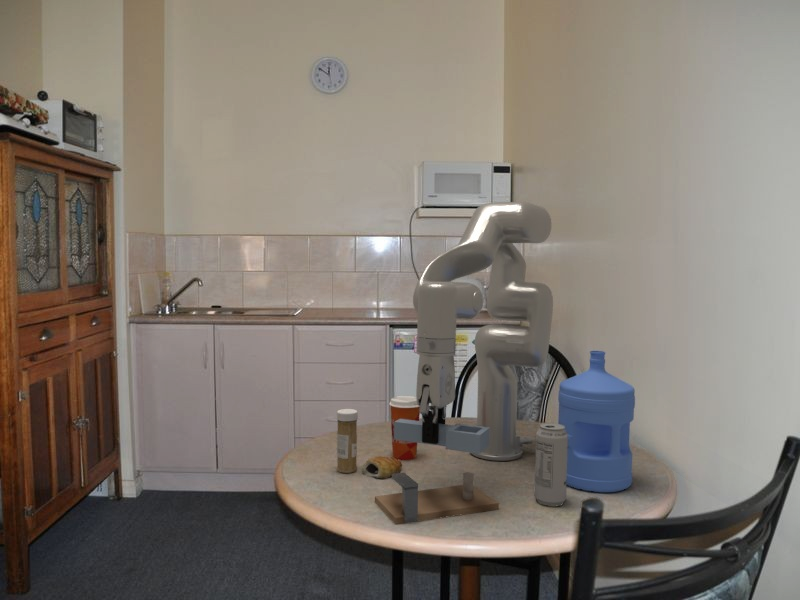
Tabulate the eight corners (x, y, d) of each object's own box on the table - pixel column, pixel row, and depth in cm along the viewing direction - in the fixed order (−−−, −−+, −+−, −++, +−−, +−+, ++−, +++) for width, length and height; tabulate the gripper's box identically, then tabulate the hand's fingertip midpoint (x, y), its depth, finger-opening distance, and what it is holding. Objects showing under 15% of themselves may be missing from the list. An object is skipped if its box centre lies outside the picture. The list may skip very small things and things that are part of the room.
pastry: (386, 464, 147) (386, 448, 147) (409, 471, 143) (410, 454, 142) (359, 475, 139) (359, 457, 139) (383, 482, 135) (383, 464, 135)
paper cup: (383, 459, 150) (384, 400, 149) (395, 450, 157) (396, 394, 156) (414, 463, 147) (415, 403, 146) (425, 454, 154) (426, 397, 154)
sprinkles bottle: (360, 471, 141) (361, 411, 140) (342, 475, 139) (343, 413, 138) (350, 465, 145) (351, 407, 144) (332, 469, 142) (333, 409, 142)
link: (489, 445, 123) (489, 427, 123) (479, 453, 117) (480, 434, 117) (403, 434, 130) (403, 417, 130) (390, 441, 124) (390, 423, 124)
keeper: (403, 507, 120) (404, 472, 120) (417, 521, 114) (418, 483, 114) (391, 509, 120) (391, 473, 119) (404, 523, 113) (405, 485, 113)
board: (471, 489, 131) (471, 460, 130) (498, 509, 121) (499, 477, 120) (374, 502, 123) (375, 471, 123) (395, 524, 113) (395, 491, 112)
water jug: (541, 473, 142) (545, 348, 140) (599, 466, 147) (603, 345, 146) (585, 497, 127) (590, 358, 126) (648, 489, 133) (653, 355, 131)
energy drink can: (571, 505, 123) (574, 429, 122) (543, 508, 121) (546, 430, 120) (555, 494, 129) (557, 421, 128) (528, 497, 127) (530, 423, 126)
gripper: (440, 352, 114) (437, 453, 115) (467, 344, 130) (464, 433, 130) (401, 349, 117) (399, 448, 118) (432, 341, 132) (430, 429, 133)
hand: (433, 439), depth 124 cm, fingers closed on link, 3 cm apart
